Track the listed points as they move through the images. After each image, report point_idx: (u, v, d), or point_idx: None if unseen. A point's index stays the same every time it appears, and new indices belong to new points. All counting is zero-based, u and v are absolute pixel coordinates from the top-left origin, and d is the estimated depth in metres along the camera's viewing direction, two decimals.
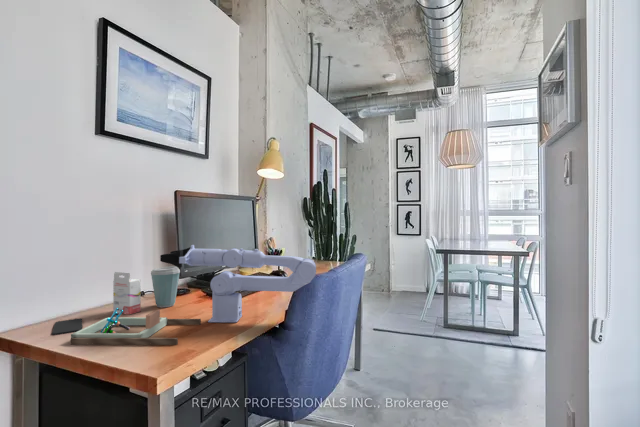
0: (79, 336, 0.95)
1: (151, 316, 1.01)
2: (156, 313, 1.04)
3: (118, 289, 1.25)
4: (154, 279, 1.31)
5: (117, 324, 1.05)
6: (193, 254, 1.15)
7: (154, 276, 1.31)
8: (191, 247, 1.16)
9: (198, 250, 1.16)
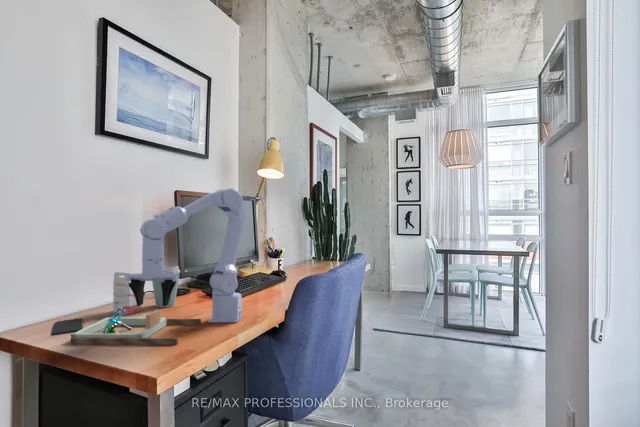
0: (79, 336, 0.95)
1: (151, 316, 1.01)
2: (156, 313, 1.04)
3: (118, 289, 1.25)
4: None
5: (119, 324, 1.05)
6: (159, 271, 1.02)
7: None
8: (150, 277, 1.00)
9: (153, 268, 1.01)
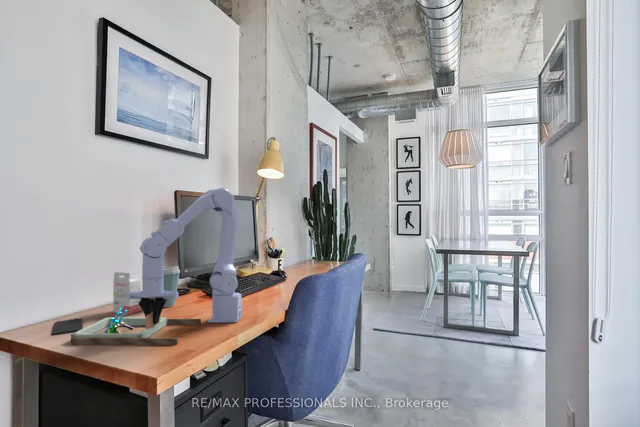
0: (79, 336, 0.95)
1: (151, 316, 1.01)
2: None
3: (118, 289, 1.25)
4: None
5: (121, 324, 1.05)
6: (159, 289, 1.02)
7: None
8: (150, 295, 1.00)
9: (153, 286, 1.01)
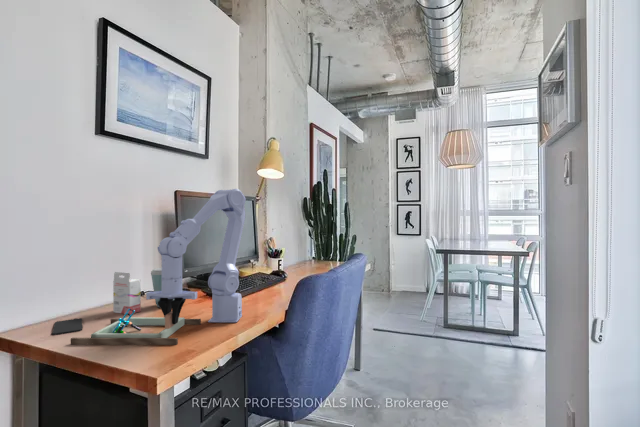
0: (99, 336, 0.95)
1: (170, 316, 1.01)
2: None
3: (118, 289, 1.25)
4: (154, 279, 1.31)
5: (129, 325, 1.04)
6: (178, 289, 1.02)
7: (154, 276, 1.31)
8: (170, 295, 1.00)
9: (173, 286, 1.01)
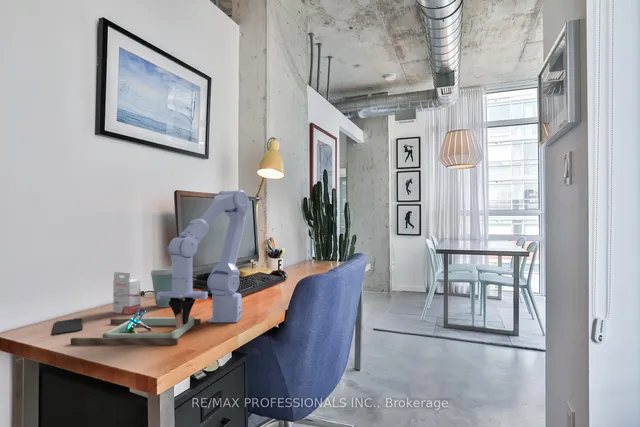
0: (111, 336, 0.95)
1: (181, 316, 1.01)
2: None
3: (118, 289, 1.25)
4: (154, 279, 1.31)
5: (140, 324, 1.04)
6: (189, 289, 1.02)
7: (154, 276, 1.31)
8: (181, 295, 1.00)
9: (183, 286, 1.01)
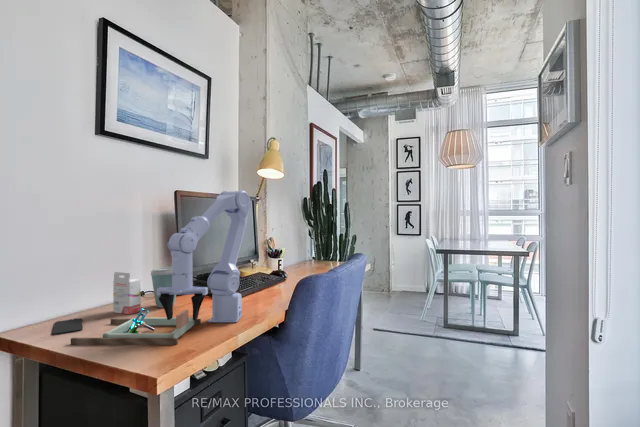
0: (111, 336, 0.95)
1: (181, 316, 1.01)
2: (185, 313, 1.04)
3: (118, 289, 1.25)
4: (154, 279, 1.31)
5: (142, 325, 1.04)
6: (189, 285, 1.02)
7: (154, 276, 1.31)
8: (181, 291, 1.00)
9: (183, 282, 1.01)
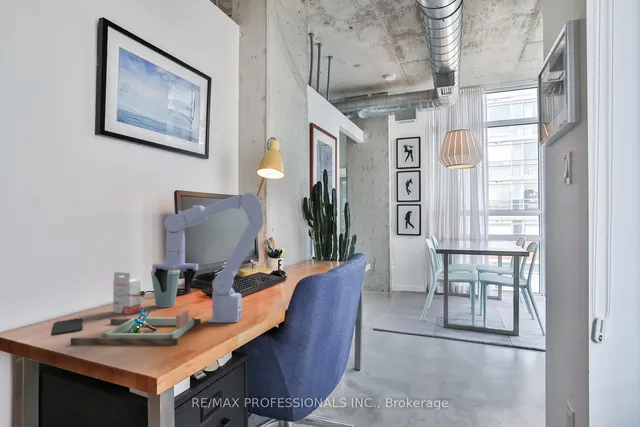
0: (111, 336, 0.95)
1: (181, 316, 1.01)
2: (185, 313, 1.04)
3: (118, 289, 1.25)
4: (154, 279, 1.31)
5: (144, 325, 1.04)
6: (181, 261, 1.13)
7: (154, 276, 1.31)
8: (174, 266, 1.11)
9: (176, 258, 1.12)
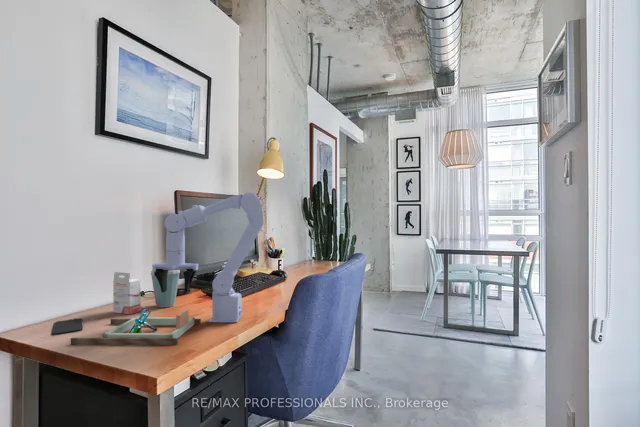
0: (111, 336, 0.95)
1: (181, 316, 1.01)
2: (185, 313, 1.04)
3: (118, 289, 1.25)
4: (154, 279, 1.31)
5: (145, 325, 1.04)
6: (181, 261, 1.13)
7: (154, 276, 1.31)
8: (174, 266, 1.11)
9: (176, 258, 1.12)
